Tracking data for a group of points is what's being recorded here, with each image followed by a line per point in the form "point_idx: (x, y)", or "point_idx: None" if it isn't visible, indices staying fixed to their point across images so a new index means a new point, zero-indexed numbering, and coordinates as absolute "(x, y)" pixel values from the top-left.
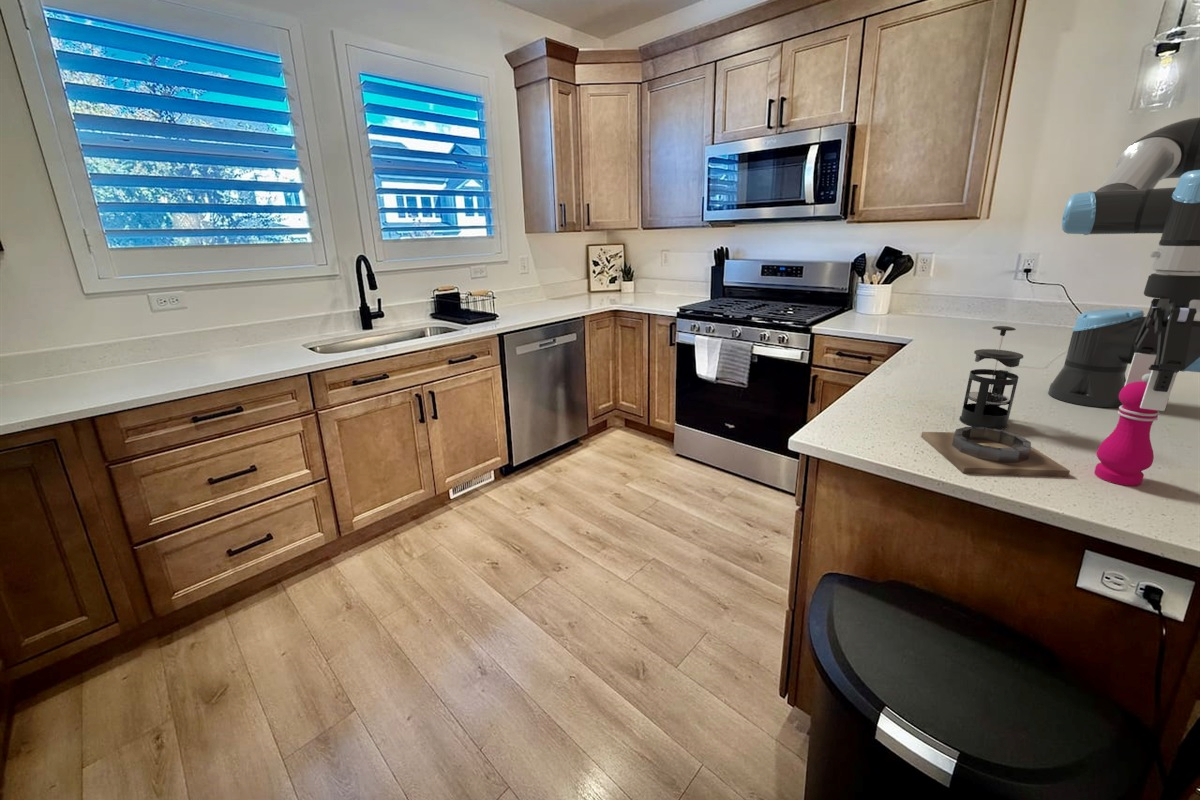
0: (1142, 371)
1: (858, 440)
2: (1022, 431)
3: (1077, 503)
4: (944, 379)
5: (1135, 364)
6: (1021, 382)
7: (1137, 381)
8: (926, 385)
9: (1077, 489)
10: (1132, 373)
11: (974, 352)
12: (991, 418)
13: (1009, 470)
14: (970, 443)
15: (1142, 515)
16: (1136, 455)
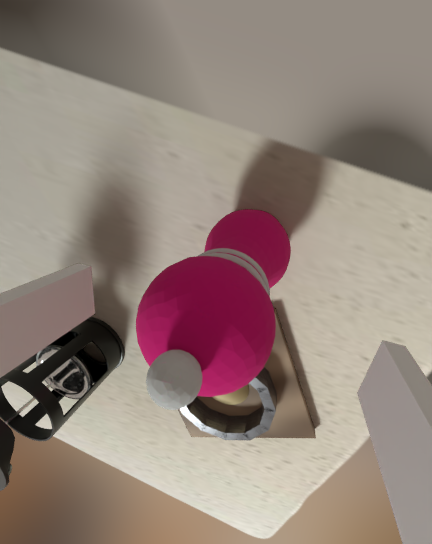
0: (28, 322)
1: (240, 492)
2: (105, 305)
3: (389, 333)
4: None
5: (2, 366)
6: None
7: (69, 303)
8: None
9: (327, 313)
10: (45, 337)
11: None
12: (109, 357)
13: (299, 386)
14: (258, 435)
15: (417, 259)
16: (286, 257)
